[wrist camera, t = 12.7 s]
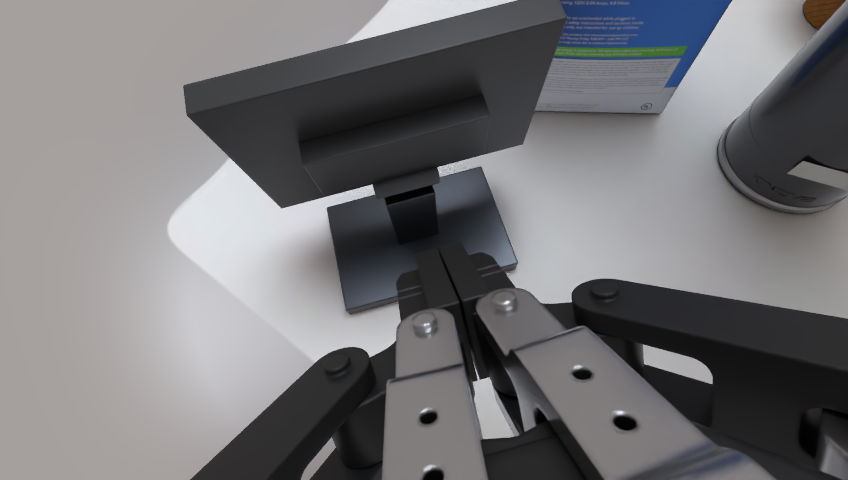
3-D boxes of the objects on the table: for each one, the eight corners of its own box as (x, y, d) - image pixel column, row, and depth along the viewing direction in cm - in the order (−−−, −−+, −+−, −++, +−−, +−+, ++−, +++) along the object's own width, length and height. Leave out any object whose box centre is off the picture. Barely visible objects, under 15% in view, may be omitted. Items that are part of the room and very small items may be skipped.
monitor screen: (277, 186, 29) (181, 82, 18) (515, 123, 29) (554, -12, 19) (286, 238, 28) (191, 160, 17) (533, 172, 28) (587, 57, 18)
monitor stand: (330, 214, 35) (299, 163, 28) (480, 173, 36) (485, 114, 29) (349, 314, 31) (319, 284, 25) (516, 268, 32) (531, 226, 25)
